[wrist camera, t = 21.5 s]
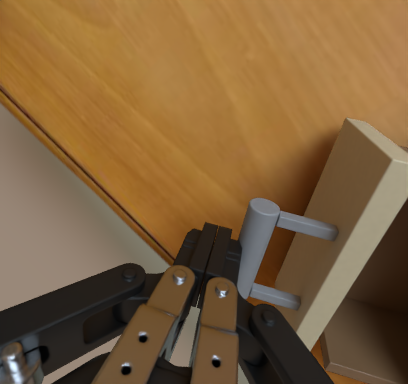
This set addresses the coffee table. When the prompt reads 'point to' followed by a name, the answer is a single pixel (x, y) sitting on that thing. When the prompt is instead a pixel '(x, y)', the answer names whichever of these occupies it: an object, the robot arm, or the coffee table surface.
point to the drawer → (343, 258)
